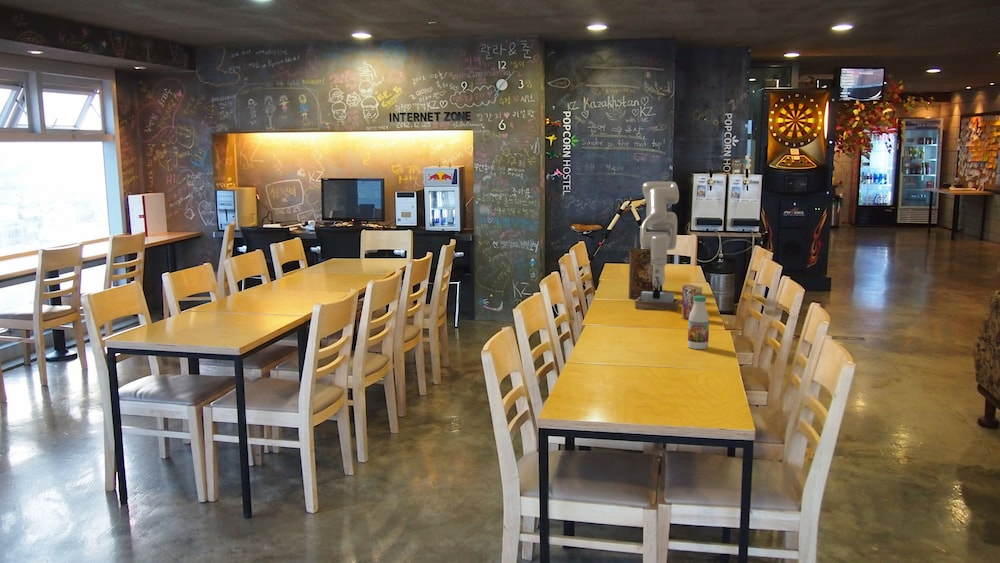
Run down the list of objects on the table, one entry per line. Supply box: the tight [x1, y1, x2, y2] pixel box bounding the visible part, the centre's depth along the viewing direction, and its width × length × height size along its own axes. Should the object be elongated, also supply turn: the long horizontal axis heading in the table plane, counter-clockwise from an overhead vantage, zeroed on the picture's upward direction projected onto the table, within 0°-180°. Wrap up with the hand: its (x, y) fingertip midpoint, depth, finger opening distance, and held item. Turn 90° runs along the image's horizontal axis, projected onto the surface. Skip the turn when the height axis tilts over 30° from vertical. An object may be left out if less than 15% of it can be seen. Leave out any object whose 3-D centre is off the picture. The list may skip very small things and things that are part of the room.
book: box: [628, 248, 654, 300], centre depth 401 cm, size 16×6×25 cm, turn 84°
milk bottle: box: [687, 295, 710, 350], centre depth 303 cm, size 8×8×20 cm
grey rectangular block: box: [641, 291, 675, 303], centre depth 380 cm, size 15×5×4 cm, turn 73°
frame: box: [634, 297, 680, 312], centre depth 380 cm, size 12×19×4 cm, turn 73°
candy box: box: [681, 283, 703, 321], centre depth 353 cm, size 9×4×15 cm, turn 26°
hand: (657, 296), depth 380 cm, fingers open, 9 cm apart
